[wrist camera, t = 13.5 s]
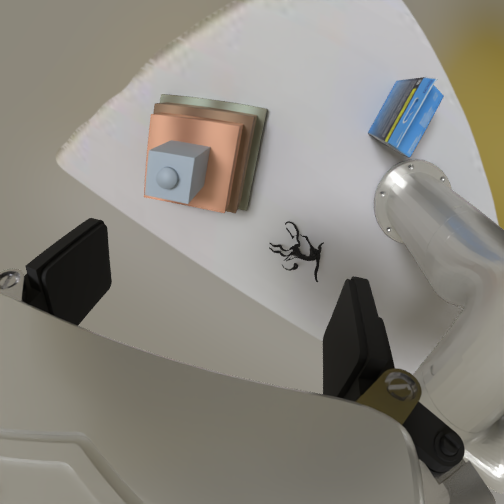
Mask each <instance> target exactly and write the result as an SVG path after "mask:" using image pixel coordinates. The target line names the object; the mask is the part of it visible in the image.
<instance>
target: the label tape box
mask: <svg viewBox="0 0 504 504" xmlns="http://www.w3.org/2000/svg"><path fill="white" fill-rule="evenodd" d="M436 80H438V79H435V78H427V77H423V78H416V79H407V80H399V81H396V83H395V85H394V86H393V88H392V90H391V92H390V94H389V95H388V97H387V99H386V101H385V103H384V105H383V106H382V108H381V110H380V112H379V114H378V116H377V117H376V119H375V121H374V123H373V125H372V126H371V128H370V130H369V132H368V134H369V135H371V136H373V137H374V138H376V139H378V140H379V141H381V142H382V143H384V144H385V145H387V146H389V147H390V148H392V149H394V150H395V151H397V152H399V153H401V154H403V155H405V156H407V157H409V158H410V157H411V155H412V153H413V151H414V150H415V148H416V146H417V144H418V143H419V141H420V139H421V137H422V136H423V134H424V132H425V130H426V128H427V126H428V125H429V123H430V121H431V119H432V117H433V115H434V114H435V112H436V110H437V108H438V106H439V104H440V102H441V100H442V98H443V97H444V96H443V95H442V94H441V92H440V91H439V90H438V89H437V88H436V87H435V86H434V83H435V82H436Z"/></svg>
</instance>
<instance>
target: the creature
mask: <svg viewBox="0 0 504 504" xmlns="http://www.w3.org/2000/svg"><path fill="white" fill-rule="evenodd" d="M286 223H292V222H286ZM286 223H285V225H286ZM292 224H293V225H294V227H295V229H296V231H297V236H296V235H295V236H296V239H297V242H298V244H295V245H294V246H292V247H291V248H290V249H289V250H291V249H293V251H292V252H291V253H290V254H289V255H287V256H288V257H289V256H290V255H294V258H300V259H303V260H306V261H313V260H315V259H316V262H317V265H316V268H315V273H314V275H315V280H316V282H318V281H317V271H318V268H319V260H320V252H321V245H322V244H323V243H321V244H320V245H319V246H318V249H319V250H317V249H315V248H313V246H312V245H311V244H310V242H309V240H308V237H307V236H302V235H301V236H302V237H305V238H306V240H307V241H308V243H309V245H310V255H309V256H305V255H302V254H301V252H300V250H299V248H298V247H300V241H299V240H298V237H299V231H298V229H297V227H296V225H295V224H294V223H292ZM286 229H287V228H286ZM287 230H288V229H287ZM288 232H289V230H288ZM289 233H290V232H289ZM290 234H291V233H290ZM291 236H292V235H291ZM293 238H294V236H292V239H293ZM269 244H271V243H269ZM271 245H272V244H271ZM272 246H273V247H280V249H281V250H283V251H289V250H284V249H283V248H282V246H281V245H272ZM269 248H270V247H269ZM270 249H271V248H270ZM271 250H272V249H271ZM272 251H273V250H272ZM273 252H274V253H280V255H281V256H283V257H285V256H286V255H283V254H282V253H281V251H273ZM295 256H297V257H295ZM288 257H287V258H288ZM287 258H286V259H287ZM286 259H285V260H286ZM292 259H293V258H292ZM288 260H291V259H290V258H289V259H288ZM288 260H287V261H288ZM282 266H283V265H282ZM295 266H296V267H295ZM297 268H298V264H297V263H294V266H293V268H291V269H290V270H292V269H293V270H295V269H297ZM286 270H288V269H286Z"/></svg>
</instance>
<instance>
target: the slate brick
mask: <svg viewBox="0 0 504 504" xmlns="http://www.w3.org/2000/svg"><path fill="white" fill-rule="evenodd" d="M209 152H210V147H208V146H203V145H197V144H191V143H185V142H179V141H173V140H171V141H168V142H166V143H164V144H162V145H159V146H157V147H155V148H153V149H151V150H149V154H148V164H147V175H146V188H145V195H147V196H152V197H157V198H162V199H167V200H171V201H176V202H181V203H185V204H189V202H190V201H191V200H192V199H193V198H194V197H195V195H196V194H197V193H198V192H199V191H200V190H201V189H202V187H203V186H204V183H205V176H206V170H207V164H208V158H209Z"/></svg>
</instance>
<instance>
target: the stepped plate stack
mask: <svg viewBox="0 0 504 504" xmlns="http://www.w3.org/2000/svg"><path fill="white" fill-rule="evenodd" d="M266 113H267V109H265V108H260V107H255V106H249V105H243V104H238V103H231V102H225V101H218V100H211V99H204V98H195V97H187V96H177V95H166V94H161V98H160V103H156V104H155V106H154V114H151V119H150V128H149V137H148V148H147V159H146V172H145V187H144V197H146V198H151V199H156V200H162V201H167V202H172V203H177V204H182V205H187V206H192V207H197V208H202V209H207V210H212V211H217V212H221V213H225V211H227V212H232V213H236V212H237V209H241V210H245V211H246V210H247V207H248V202H249V197H250V192H251V187H252V182H253V177H254V172H255V167H256V162H257V157H258V152H259V147H260V142H261V137H262V132H263V128H264V123H265V118H266ZM171 140H173V141H179V142H185V143H191V144H197V145H203V146H208V147H210V152H209V158H208V164H207V170H206V176H205V183H204V186H203V187H202V189H201V190H200V191H199V192H198V193H197V194H196V195H195V197H194V198H193V199H192V200H191V201H190V202H189V204H185V203H181V202H176V201H171V200H167V199H162V198H157V197H152V196H147V195H145V188H146V175H147V164H148V154H149V150H151V149H153V148H155V147H157V146H159V145H162V144H164V143H166V142H168V141H171Z"/></svg>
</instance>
